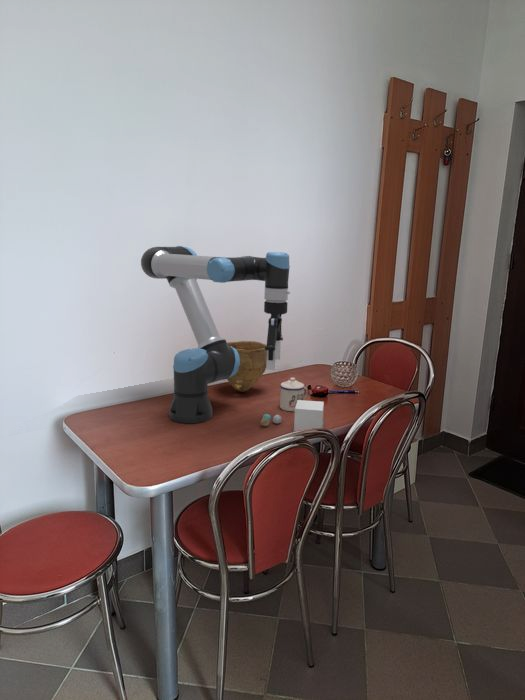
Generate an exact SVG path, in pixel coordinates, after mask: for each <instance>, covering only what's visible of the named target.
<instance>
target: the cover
mask: <svg viewBox="0 0 525 700" xmlns="http://www.w3.org/2000/svg"><path fill="white" fill-rule="evenodd" d="M324 405H325V401H320V400H319V401H318V400H317V401H316V400H305V399H303V400H297V403H296V407H295V411H294V421H293V422H294V426H293V429H294V431H298V430H304V429H312V428H322V426H323V424H324V411H325V410H324V409H325V408H324V407H325V406H324Z"/></svg>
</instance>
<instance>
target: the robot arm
mask: <svg viewBox="0 0 525 700" xmlns="http://www.w3.org/2000/svg"><path fill="white" fill-rule="evenodd" d="M265 255H266V256H265V257H257V256H251V255H243V256H236V257H225V256H208V255H198V254H197V253H196V252H195V250H193V249H192V248H191V247H188V246H182V245H181V246H180V245H177V246H154V247H151V248H148V249H147V250H146V251H145V252H144V253H143V254H142V256H141V259H140V267H141V270H142V271H143V272H144V274H146V276H148V277H149V278H153V279H161V280H162V279H166V280H167V283H168V284H169V287H170V288H173V289H175V290H176V291H175V292H176V294H177V296H178V299H179V301H180V303H181V307H182V309H183V310H184V313H185V316H186V318H187V321H188V323H189V326H190V328H191V330H192V333H193V335H194V338H195V340H196V343H197V345H198V346H197V347H194V348H188V349H184V350H181V351H179V352H177V353H176V354H175V355H174V358H173V366H172V368H173V369H172V370H173V391H174V392H173V394H174V395H173V398H172V402H171V404H170V408H169V411H168V413H169V419H170V420H172V421H173V422H176V423H181V424H198V423H204V422H206V421H209V420H210V419H212V417H213V406H212V404H211V401H210V398H209V395H208V385H209V384H212V383H216V382H219V381H220V382H221V381H225V380H227V378H229V377H232V376H234V375H235V374H236V373H237V371H238V369H239V366H240V357H239V354H238V352H237V350H236V349H235V348H233V347H232V346H228V344H227V343H228V342H227V340H226V339H225V338H223V337H221V335H220V334H219V331H218V329H217V326H216V324H215V322H214V319H213V316H212V315H211V312H210V310H209V307H208V305H207V302H206V300H205V297H204V295H203V293H202V290H201V289H200V285H199V283H198V281H197V280H205V281H206V280H207V281H211V282H213V283H220V284H224V283H229V282H242V281H243V282H244V281H261V282H264V300H265V301H264V302H263V305H264V306H263V307H264V308H263V312H264V313H265V314H269V315H270V317H269V318H268V328H267V337H266V345H267V346H266V347H265V350H267V363H266V370H267V371H269V370H270V371H275V370H276V361H277V360H278V361H280V360H281V348H282V347H281V345H282V344H281V343H282V341H284V337H283V336H282V321H283V318H282V315H286V314H287V313H288V304H289V303H288V302H287V301H288V298H289V295H290V294H291V292H290V291H289V279H290V278H289V277H290V267H291V266H290V255H289V254H288V253H287V252H279V251H269V252H266V254H265ZM266 370H265V371H266Z"/></svg>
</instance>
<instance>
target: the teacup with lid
mask: <svg viewBox="0 0 525 700" xmlns="http://www.w3.org/2000/svg"><path fill="white" fill-rule="evenodd" d="M279 387H280V400H279V407H280V409H281V410H282V411H283V410H284V411H288V412H295V407H296V403H297V400H305V399H306V397H307V395H308V388H307V387H306V386H305V383H303V382H300V381H298V380H296V377H290V378H289V379H288V380H286V381H283V382H281V383H280V385H279Z"/></svg>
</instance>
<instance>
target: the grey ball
mask: <svg viewBox="0 0 525 700" xmlns="http://www.w3.org/2000/svg"><path fill="white" fill-rule="evenodd" d="M272 421H273V423H274V424H280V423H281V422H282V416H281V415H280V414H275V415H274V416H273V417H272Z"/></svg>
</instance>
